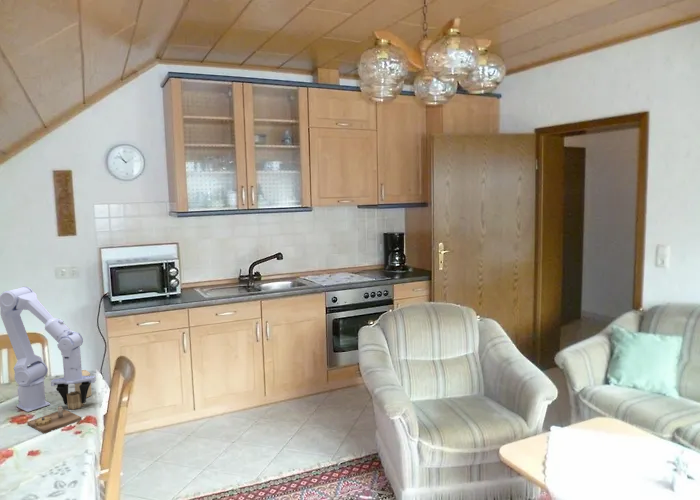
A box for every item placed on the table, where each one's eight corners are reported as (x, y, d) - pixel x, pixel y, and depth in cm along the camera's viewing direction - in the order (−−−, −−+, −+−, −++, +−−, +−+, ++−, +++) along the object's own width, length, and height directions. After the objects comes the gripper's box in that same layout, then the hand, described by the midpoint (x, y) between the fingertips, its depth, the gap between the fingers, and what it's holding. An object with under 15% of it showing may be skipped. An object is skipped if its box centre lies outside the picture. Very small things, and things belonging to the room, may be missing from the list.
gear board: (27, 424, 170) (26, 411, 169) (64, 412, 179) (63, 398, 179) (44, 433, 163) (43, 419, 162) (81, 419, 173) (80, 406, 172)
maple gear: (64, 407, 183) (63, 394, 182) (79, 402, 187) (78, 389, 187) (72, 410, 180) (70, 397, 180) (86, 405, 184) (85, 392, 184)
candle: (84, 399, 191) (82, 373, 190) (72, 398, 192) (70, 373, 191) (94, 393, 196) (93, 368, 195) (82, 393, 197) (80, 368, 196)
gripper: (46, 372, 177) (49, 409, 178) (90, 368, 179) (93, 405, 181) (54, 365, 184) (57, 401, 185) (96, 362, 186) (99, 397, 188)
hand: (75, 402), depth 183 cm, fingers closed on maple gear, 5 cm apart
